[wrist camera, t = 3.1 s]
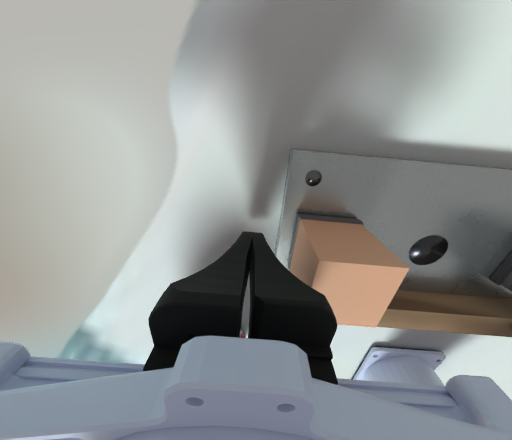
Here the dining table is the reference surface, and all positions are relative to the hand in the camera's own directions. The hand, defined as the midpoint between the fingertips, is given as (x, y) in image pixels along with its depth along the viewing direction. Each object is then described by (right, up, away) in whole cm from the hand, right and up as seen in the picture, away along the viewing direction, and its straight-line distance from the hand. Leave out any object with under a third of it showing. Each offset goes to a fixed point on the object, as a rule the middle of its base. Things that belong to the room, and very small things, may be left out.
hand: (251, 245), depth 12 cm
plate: (+13, 0, +2) cm, 13 cm away
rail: (+13, -5, +4) cm, 14 cm away
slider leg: (+5, -1, +2) cm, 5 cm away
